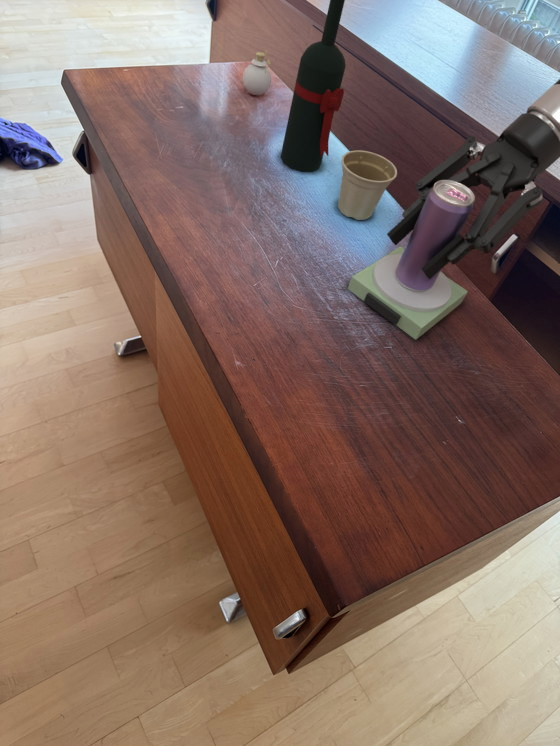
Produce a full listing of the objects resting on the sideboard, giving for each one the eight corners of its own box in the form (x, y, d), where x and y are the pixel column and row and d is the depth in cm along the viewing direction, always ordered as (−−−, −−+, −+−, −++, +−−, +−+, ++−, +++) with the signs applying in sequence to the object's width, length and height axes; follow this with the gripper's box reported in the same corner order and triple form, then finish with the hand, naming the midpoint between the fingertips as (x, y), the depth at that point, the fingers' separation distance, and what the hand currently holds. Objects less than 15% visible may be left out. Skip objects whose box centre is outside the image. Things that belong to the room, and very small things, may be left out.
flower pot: (346, 188, 104) (359, 143, 97) (390, 212, 101) (406, 168, 95) (318, 207, 98) (331, 162, 92) (364, 233, 96) (380, 188, 89)
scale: (461, 303, 88) (470, 287, 86) (413, 342, 81) (421, 325, 78) (396, 257, 93) (402, 241, 90) (344, 290, 85) (350, 273, 83)
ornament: (261, 86, 124) (268, 37, 117) (276, 103, 120) (285, 53, 113) (236, 87, 122) (242, 37, 114) (251, 104, 118) (258, 53, 110)
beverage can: (423, 299, 82) (467, 211, 71) (387, 280, 83) (425, 190, 72) (438, 279, 86) (482, 193, 74) (403, 261, 87) (442, 173, 76)
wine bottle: (301, 182, 102) (345, -7, 80) (272, 152, 107) (307, -35, 85) (336, 175, 106) (388, -7, 83) (306, 147, 111) (348, -33, 88)
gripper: (602, 190, 72) (460, 313, 77) (495, 112, 82) (374, 226, 87) (604, 157, 66) (448, 293, 71) (486, 77, 76) (357, 202, 81)
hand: (408, 256), depth 79 cm, fingers open, 7 cm apart
